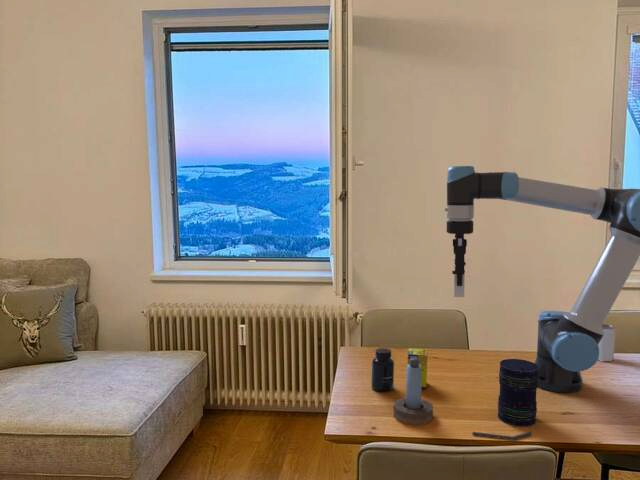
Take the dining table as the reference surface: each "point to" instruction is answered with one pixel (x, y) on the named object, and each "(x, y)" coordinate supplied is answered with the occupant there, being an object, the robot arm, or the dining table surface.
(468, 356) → the dining table surface
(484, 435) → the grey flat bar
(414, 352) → the supplement box
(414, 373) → the round-tipped blue peg
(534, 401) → the storage jar
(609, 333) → the can
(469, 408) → the dining table surface
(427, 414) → the bead
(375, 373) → the supplement bottle
